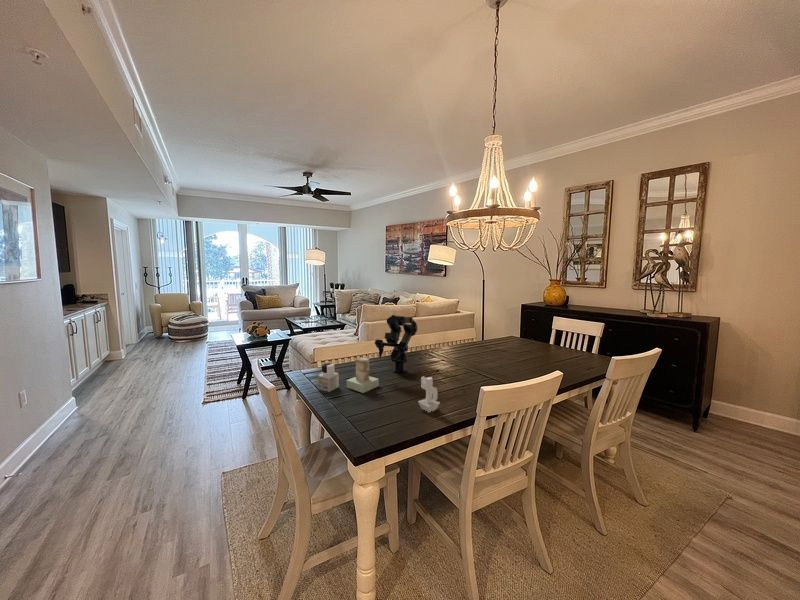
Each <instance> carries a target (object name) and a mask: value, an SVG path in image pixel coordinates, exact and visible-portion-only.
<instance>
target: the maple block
mask: <svg viewBox="0 0 800 600" xmlns="http://www.w3.org/2000/svg"><path fill="white" fill-rule="evenodd" d="M369 376H370V359H369V358H365V357H360V358H357V359H355V377H356V380H358V381H361V382H364V381H366V380H369Z"/></svg>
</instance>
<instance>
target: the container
mask: <svg viewBox="0 0 800 600" xmlns="http://www.w3.org/2000/svg"><path fill="white" fill-rule="evenodd" d="M335 367H336V366H335V364H334V363H331V362H328V363H327V362H326V363H323V364H322V365H321V373H320V374H318V375H317V388H318V390H320V391H324V392H329V393H331V391H334V390H336V389H338V388H339V387H340V385H339V383H340V382H339V381H340V379H339V377H340V375H339V372H335V369H336V368H335Z"/></svg>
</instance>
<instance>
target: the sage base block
mask: <svg viewBox="0 0 800 600" xmlns="http://www.w3.org/2000/svg"><path fill="white" fill-rule="evenodd" d="M379 381H380V380H379V378H377V377H373V376H370V375H369V380H366V381H364V382H361V381H358V380H356V376H354V377H351V378H349V379H346V388H348V389H350V390H354V391H356V392H360V393H362V394H364V393H366V392H369V391H370V390H373V389H376V388H378V387H379V386H380V385H379V383H380V382H379Z"/></svg>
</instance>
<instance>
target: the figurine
mask: <svg viewBox="0 0 800 600" xmlns="http://www.w3.org/2000/svg"><path fill="white" fill-rule="evenodd" d="M420 383H421V384H420V386H421V389H423V390H425V398H423V399H420V400H418V401H417V403H418V405H419V406H420V408H421V410H422V409H423V410H422V411H424V410H425V411H424V412H426V411H427V412H426V413H429V414H430V413H432V412H434V411H436V410H437V409H438V407H439V405H441V402H440V401H439V400H438V394H439V393H438V388H437V387H435V386H433V385H434V380H433V377H432V376H429V377H426V376H421V378H420ZM437 400H438V401H437ZM431 411H432V412H431Z"/></svg>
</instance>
